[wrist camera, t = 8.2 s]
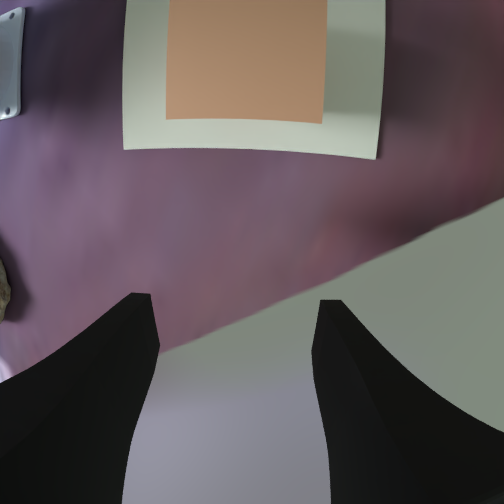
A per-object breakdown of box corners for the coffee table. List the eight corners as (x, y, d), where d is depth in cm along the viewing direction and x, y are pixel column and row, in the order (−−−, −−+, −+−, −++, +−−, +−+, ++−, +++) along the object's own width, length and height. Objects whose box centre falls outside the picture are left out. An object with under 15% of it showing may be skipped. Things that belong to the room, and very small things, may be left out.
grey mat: (127, 147, 17) (123, 149, 17) (135, -39, 12) (132, -42, 11) (372, 157, 17) (375, 159, 17) (380, -31, 12) (384, -34, 11)
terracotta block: (207, 109, 16) (165, 119, 8) (210, 30, 14) (171, -19, 6) (293, 112, 16) (321, 123, 8) (296, 33, 14) (327, -17, 6)
